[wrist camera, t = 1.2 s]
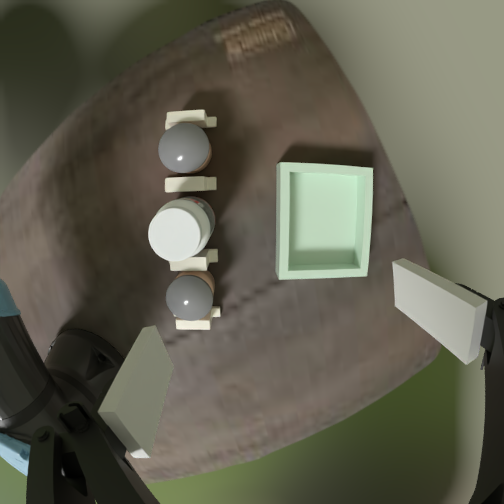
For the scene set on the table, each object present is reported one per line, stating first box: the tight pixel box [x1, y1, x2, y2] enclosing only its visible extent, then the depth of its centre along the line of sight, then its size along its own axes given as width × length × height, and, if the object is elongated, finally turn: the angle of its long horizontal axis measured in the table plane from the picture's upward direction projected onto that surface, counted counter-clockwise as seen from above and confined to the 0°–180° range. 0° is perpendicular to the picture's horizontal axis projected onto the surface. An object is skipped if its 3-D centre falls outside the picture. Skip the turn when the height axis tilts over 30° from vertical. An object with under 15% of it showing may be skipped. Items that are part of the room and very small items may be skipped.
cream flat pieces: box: [165, 110, 220, 330], centre depth 31 cm, size 6×24×4 cm, turn 0°
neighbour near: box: [158, 123, 212, 174], centre depth 29 cm, size 5×5×5 cm
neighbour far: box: [166, 270, 215, 321], centre depth 32 cm, size 5×5×5 cm
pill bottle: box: [148, 196, 215, 261], centre depth 28 cm, size 6×6×10 cm
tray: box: [276, 162, 373, 280], centre depth 32 cm, size 11×13×3 cm
